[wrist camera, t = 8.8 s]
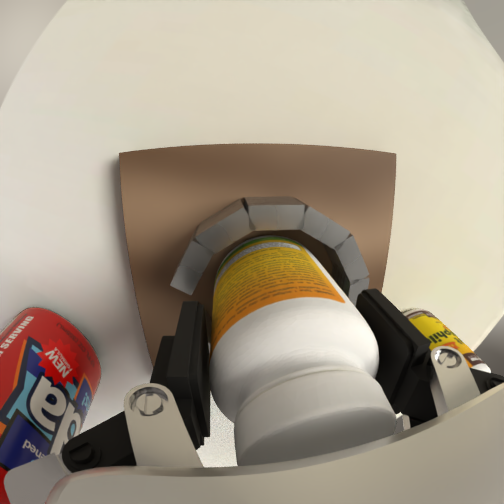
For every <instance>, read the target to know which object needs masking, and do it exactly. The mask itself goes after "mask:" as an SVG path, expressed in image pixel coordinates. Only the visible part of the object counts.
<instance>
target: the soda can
mask: <svg viewBox="0 0 504 504" xmlns="http://www.w3.org/2000/svg"><path fill="white" fill-rule="evenodd" d="M100 379H101V367H100V363H99V360H98V357H97V355H96V353H95V351H94V349H93V347H92V346H91V344H90V343H89V342H88V340H87V339H86V338H85V336H84V335H83V334H82V333H81V332H80V331H79V330H78V329H77V328H76V327H75V326H74V325H73V324H71V323H70V322H69V321H68V320H66V319H65V318H63V317H62V316H60V315H58V314H57V313H55V312H53V311H50V310H47V309H44V308H37V307H32V308H27V309H25V310H23V311H22V312H20V313H19V314H18V315H17V316H16V317H15V318H14V319H13V320H12V321H11V322H10V323H9V324H8V325H7V326H6V327H5V328H4V329H3V330H2V331H1V332H0V504H10V501H9V498H8V496H7V493H6V490H5V486H4V479H5V475H6V474H7V473H8V471H10V470H11V469H13V468H16V467H19V466H21V465H24V464H27V463H29V462H32V461H34V460H37V459H39V458H42V457H44V456H47V455H49V454H51V453H54V452H55V453H56V455H59V454H61V453H62V450H63V447H64V445H65V444H66V443H67V442H68V441H69V440H70V439H72V438H73V437H75V436H77V435H79V434H80V431H81V428H82V426H83V423H84V421H85V418H86V415H87V413H88V410H89V408H90V405H91V403H92V400H93V398H94V395H95V393H96V391H97V388H98V386H99V383H100Z"/></svg>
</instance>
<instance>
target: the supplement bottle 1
mask: <svg viewBox="0 0 504 504" xmlns="http://www.w3.org/2000/svg"><path fill="white" fill-rule="evenodd" d="M378 366H379V350H378V345H377V341H376V339H375V336H374V334H373V332H372V330H371V329H370V327H369V325H368V324H367V322H366V321H365V319H364V318H363V316H362V315H361V314H360V312H359V311H358V310H357V309H356V307H355V306H354V305H353V304H352V302H351V301H350V300H349V298H348V297H347V296H346V295H345V293H344V292H343V291H342V290H341V288H340V287H339V286H338V285H337V283H336V282H335V281H334V280H333V278H332V277H331V276H330V275H329V273H328V272H327V271H326V270H325V268H324V267H323V266H322V265H321V264H320V262H319V261H318V260H317V259H316V258H315V257H314V255H313V254H312V253H311V252H310V251H309V250H308V249H307V248H306V247H304V246H303V245H302V244H300V243H299V242H297V241H295V240H292V239H290V238H287V237H282V236H276V235H265V236H259V237H254V238H252V239H249V240H247V241H245V242H243V243H241V244H239V245H238V246H237V247H235V248H234V249H233V250H232V251H231V252H230V253H229V254H228V255H227V256H226V257H225V258H224V260H223V261H222V263H221V265H220V267H219V269H218V271H217V274H216V278H215V284H214V295H213V311H212V328H211V342H210V358H209V383H210V390H211V393H212V396H213V399H214V401H215V403H216V405H217V406H218V408H219V409H220V411H221V412H222V413H223V414H224V415H225V416H226V417H227V418H228V419H229V420H230V421H232V422H233V423H234V424H235V426H234V439H235V450H236V458H237V465H238V466H249V465H260V464H270V463H278V462H285V461H292V460H298V459H304V458H309V457H314V456H319V455H324V454H328V453H333V452H337V451H341V450H345V449H349V448H353V447H356V446H360V445H363V444H367V443H370V442H373V441H376V440H380V439H383V438H386V437H388V436H391V435H393V433H394V431H395V429H396V424H397V421H396V415H395V413H394V411H393V409H392V407H391V405H390V403H389V401H388V400H387V398H386V396H385V394H384V392H383V390H382V387H381V386H380V384H379V383H378V382H377V381H376V380H375V377H376V374H377V371H378Z"/></svg>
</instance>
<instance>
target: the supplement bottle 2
mask: <svg viewBox="0 0 504 504" xmlns="http://www.w3.org/2000/svg"><path fill="white" fill-rule="evenodd" d="M403 315H404V316H405V317H406V318H407V319H408V320H409V321H410V322H411V323H412V324H413V325H414V326H415V327H416V328H417V329H418V330H419V331H420V332H421V333H422V334H423V335H424V336H425V337H426V338H427V339H428V340H429V341H430V342H431V344H430V347H429V349H430V350H431V351H432V350H433V349H434V348H436V347H439V346H448V347H452V348H454V349H456V350H458V351H459V352H460V353H461V354H462V355H463V356H464V358H465V360H466V362H467V364H468V367H469V368H473V369H477V370H481V371H485V372H489V373H491V371H490V369H489V367H488V366H487V365H486V364H485V363H484V362H483V361H482V360H481V359H480V358H479V357H478V356H477V355H476V354H475V353H474V352H473V351H472V350H471V349H470V348H469V347H468V346H467V345H466V344H464V343H463V342H462V341H461V340H460V339H459V338H458V337H457V336H456V335H455V334H454V333H453V332H452V331H451V330H450V329H448V328H447V327H446V326H445V325H444V324H443V323H442V322H441V321H440V320H439V319H438V318H436V317H435V316H434V315H433V314H432V313H430V312H429V311H427V310H424V309H413V310H410V311H407V312H405V313H403Z"/></svg>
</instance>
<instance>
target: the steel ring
mask: <svg viewBox="0 0 504 504" xmlns="http://www.w3.org/2000/svg"><path fill="white" fill-rule="evenodd" d="M298 229H300V230H302V231H303V232H305V233H307V234H309V235H310V236H312V237H314V238H316V239H317V240H319V241H321V242H322V244H323V246H324V248H325V250H326V252H327V254H328V256H329V258H330V260H331V262H332V274H331V277H332V278H333V280H334V281H335V282H336V283H337V285H338V286H339V287H340V288H341V290H342V291H343V292H344V293H345V295H346V296H347V297H348V298H349V300H350V301H351V302H352V304H353V305H354V306H355V307H356V301H357V296H358V294H360V293H361V292H362V290H365V289H368V286H369V280H370V278H369V277H368V275H369V272H368V270H367V267H366V265H365V262H364V260H363V257H362V255H361V253H360V250H359V248H358V245H357V243H356V241H355V238H354V236H353V235H352V234H351V233H350V231H348V230H347V229H345V228H343V227H342V226H340V225H339V224H337V223H336V222H334V221H333V220H331V219H329V218H328V217H326V216H325V215H323V214H321V213H320V212H318V211H316V210H315V209H313V208H312V207H310V206H308V205H307V204H305V203H303V202H301V201H300V200H298V199H296V198H292V197H291V196H279V197H244V204H243V202H242V201H241V199H238V200H236V201H235V202H233V203H231V204H230V205H228V206H227V207H225V208H223V209H222V210H220V211H218V212H217V213H215V214H214V215H212V216H210V217H209V218H207V219H206V220H204V221H202V222H201V223H200V225H199V227H198V226H197V227H196V229H195V231H194V233H193V235H192V237H191V239H190V241H189V243H188V245H187V247H186V249H185V251H184V253H183V255H182V257H181V260H180V262H179V264H178V266H177V269H176V271H175V274H174V276H173V279H172V282H171V284H170V286H172V287H174V288H176V289H178V290H181V291H183V292H185V293H187V294H189V295H192V293H193V291H194V289H195V288H196V286H197V284H198V282H199V280H200V278H201V276H202V274H203V272H204V270H205V269H206V267H207V265H208V263H209V261H210V259H211V257H212V255H214V254H215V253H217V252H219V251H220V250H222V249H224V248H225V247H227V246H229V245H230V244H232V243H234V242H235V241H237V240H239V239H240V238H242V237H244V236H245V235H247V234H249V233H250V232H252V231H263V230H298ZM198 303H199V305H201V304H200V302H199V301H198ZM205 318H206V328H207V337H208V345H209V353H210V342H211V328H212V318H211V316H210V315H209V314H208V312H207V311H206V310H205Z"/></svg>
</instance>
